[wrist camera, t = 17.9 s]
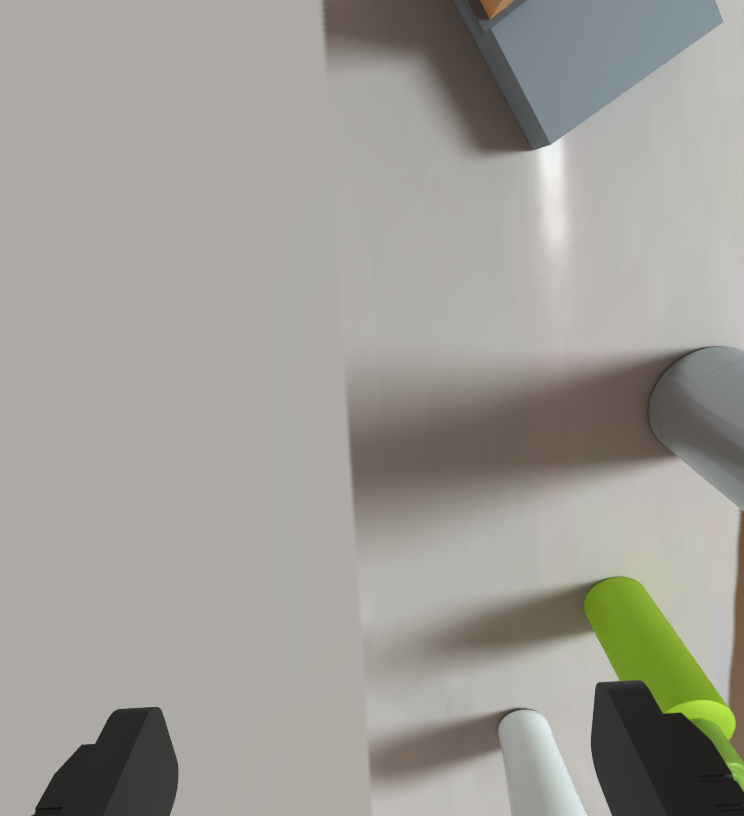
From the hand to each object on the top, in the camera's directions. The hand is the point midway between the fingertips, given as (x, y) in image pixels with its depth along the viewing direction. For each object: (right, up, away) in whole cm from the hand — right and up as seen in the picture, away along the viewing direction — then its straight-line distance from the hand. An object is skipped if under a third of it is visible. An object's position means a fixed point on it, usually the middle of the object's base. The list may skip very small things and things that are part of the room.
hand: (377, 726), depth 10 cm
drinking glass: (+16, -27, +46) cm, 56 cm away
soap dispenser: (+22, -13, +40) cm, 48 cm away
